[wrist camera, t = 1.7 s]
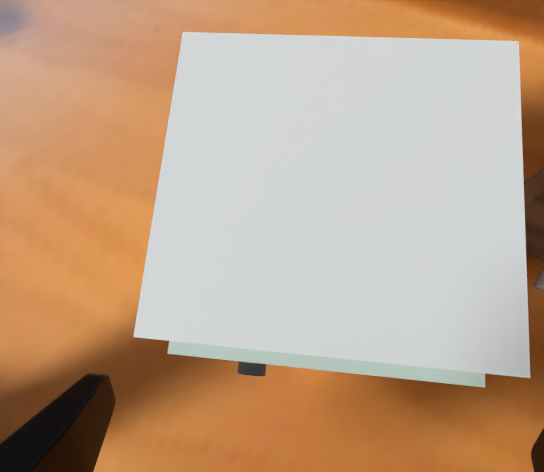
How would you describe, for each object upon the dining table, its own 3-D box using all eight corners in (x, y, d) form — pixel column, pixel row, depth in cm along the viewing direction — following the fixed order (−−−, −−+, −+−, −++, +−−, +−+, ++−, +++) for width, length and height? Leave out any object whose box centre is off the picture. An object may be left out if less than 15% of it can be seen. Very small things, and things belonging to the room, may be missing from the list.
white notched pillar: (380, 368, 19) (532, 437, 6) (245, 353, 19) (124, 390, 7) (385, 226, 20) (518, 41, 7) (259, 217, 21) (183, 32, 8)
